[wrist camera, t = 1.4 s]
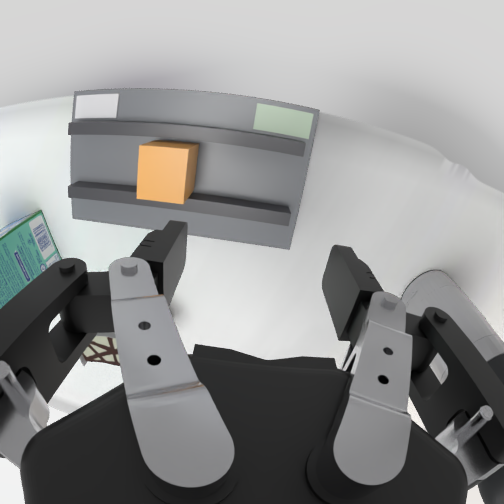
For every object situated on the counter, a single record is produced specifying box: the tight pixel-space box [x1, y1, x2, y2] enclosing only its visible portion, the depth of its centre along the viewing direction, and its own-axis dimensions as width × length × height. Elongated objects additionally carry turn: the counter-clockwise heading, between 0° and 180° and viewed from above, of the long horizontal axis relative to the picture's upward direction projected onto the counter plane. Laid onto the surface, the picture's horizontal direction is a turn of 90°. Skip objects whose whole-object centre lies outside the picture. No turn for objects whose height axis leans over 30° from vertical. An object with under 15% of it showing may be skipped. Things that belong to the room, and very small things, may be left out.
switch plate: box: [68, 88, 319, 250], centre depth 27 cm, size 24×14×6 cm, turn 81°
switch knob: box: [137, 140, 199, 204], centre depth 23 cm, size 4×4×4 cm
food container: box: [80, 332, 120, 366], centre depth 34 cm, size 12×6×10 cm, turn 96°
